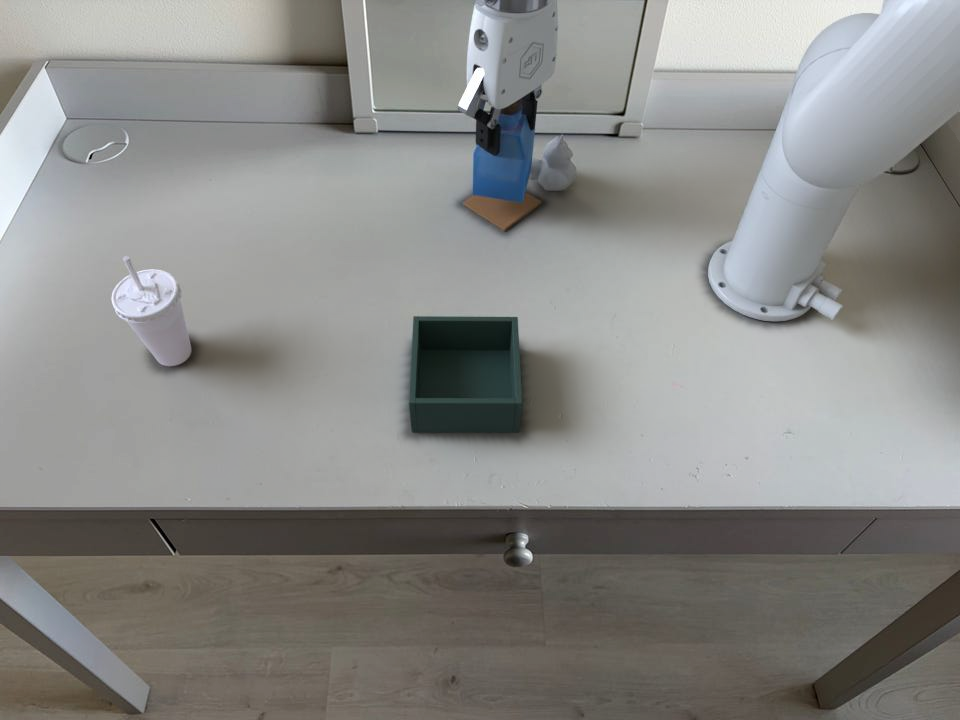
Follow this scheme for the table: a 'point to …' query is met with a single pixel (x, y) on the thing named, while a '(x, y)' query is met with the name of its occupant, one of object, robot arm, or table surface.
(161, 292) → the smoothie
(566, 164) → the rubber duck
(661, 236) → the table surface
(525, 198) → the mat
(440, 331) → the bin
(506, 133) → the perfume bottle
